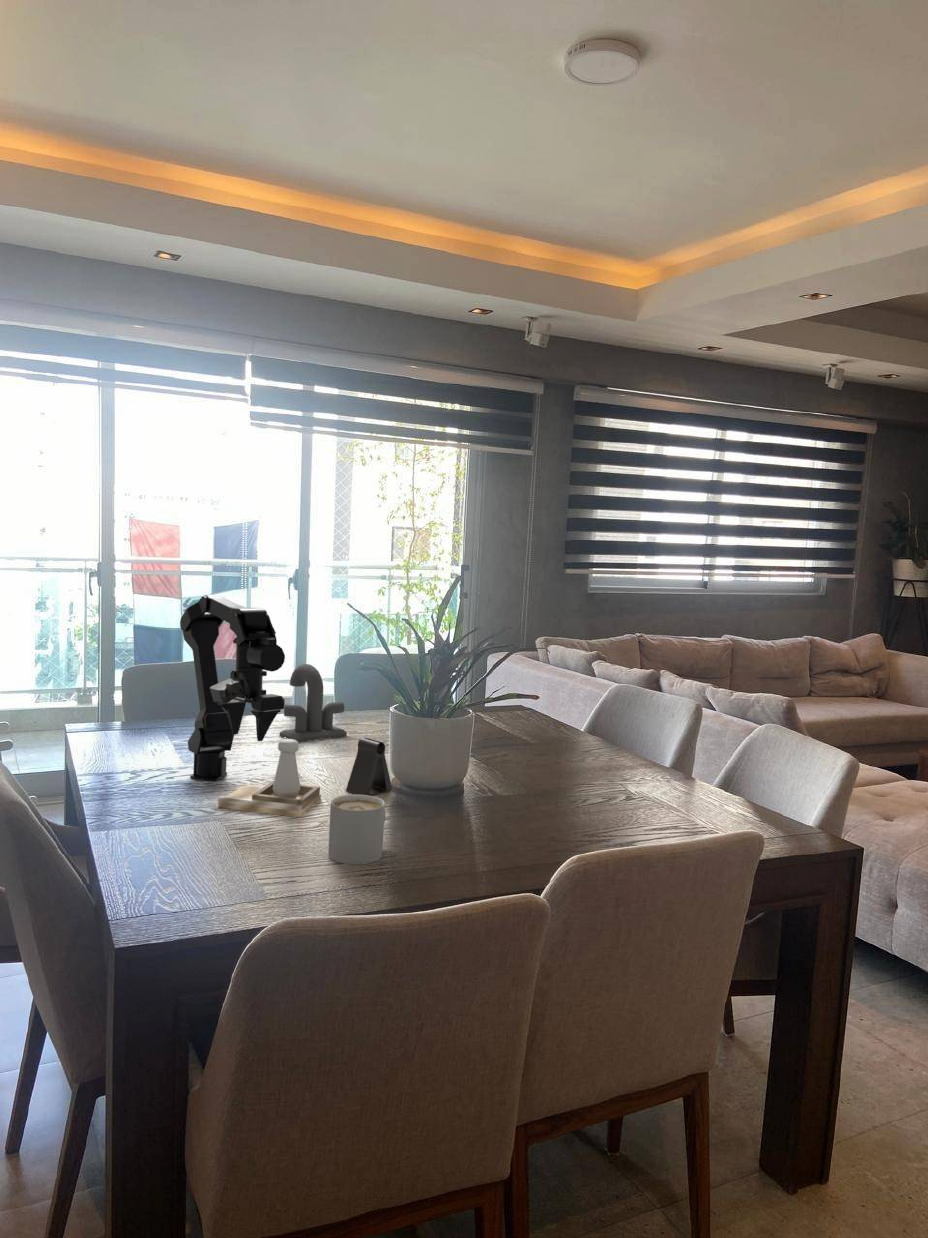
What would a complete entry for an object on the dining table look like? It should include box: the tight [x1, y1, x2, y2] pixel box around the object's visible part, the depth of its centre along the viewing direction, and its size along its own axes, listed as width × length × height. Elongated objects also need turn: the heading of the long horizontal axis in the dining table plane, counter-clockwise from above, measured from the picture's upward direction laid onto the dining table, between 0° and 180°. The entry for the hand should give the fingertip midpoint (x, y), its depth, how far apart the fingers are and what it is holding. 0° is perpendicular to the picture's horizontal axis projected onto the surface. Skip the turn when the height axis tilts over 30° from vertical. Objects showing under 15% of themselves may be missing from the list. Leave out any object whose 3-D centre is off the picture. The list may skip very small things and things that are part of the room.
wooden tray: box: [217, 780, 322, 818], centre depth 201 cm, size 18×13×3 cm
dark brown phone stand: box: [345, 737, 393, 797], centre depth 214 cm, size 9×6×12 cm, turn 139°
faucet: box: [278, 663, 348, 743], centre depth 267 cm, size 18×16×20 cm
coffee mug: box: [327, 794, 386, 865], centre depth 174 cm, size 13×10×10 cm
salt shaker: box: [273, 738, 301, 798], centre depth 200 cm, size 6×6×13 cm
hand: (247, 737), depth 203 cm, fingers open, 9 cm apart
